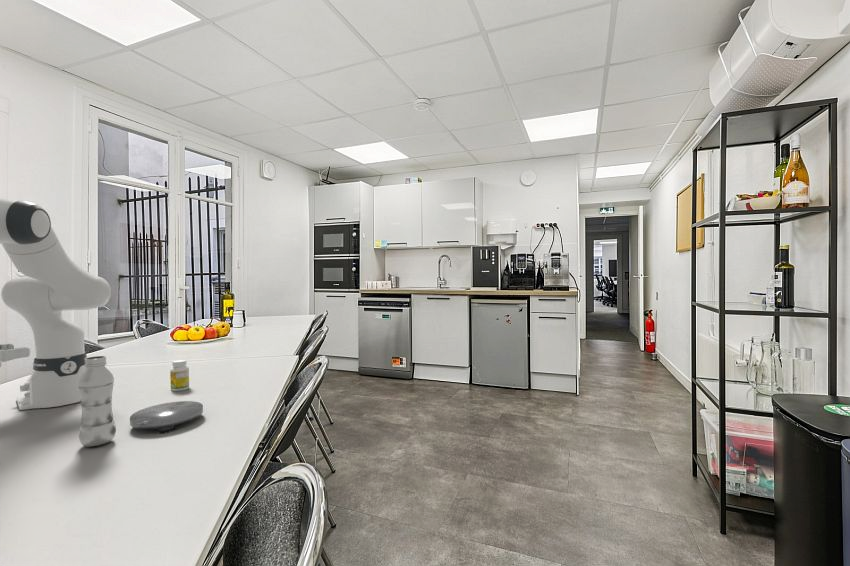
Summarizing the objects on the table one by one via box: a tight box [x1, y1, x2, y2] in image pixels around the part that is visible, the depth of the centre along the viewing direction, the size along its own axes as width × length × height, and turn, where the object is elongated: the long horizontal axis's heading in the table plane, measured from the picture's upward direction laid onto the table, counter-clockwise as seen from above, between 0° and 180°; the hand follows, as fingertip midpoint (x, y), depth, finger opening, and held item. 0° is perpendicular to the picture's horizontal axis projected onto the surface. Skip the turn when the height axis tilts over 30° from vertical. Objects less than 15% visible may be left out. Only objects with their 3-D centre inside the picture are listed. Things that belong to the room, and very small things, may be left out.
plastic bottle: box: [77, 355, 117, 448], centre depth 89 cm, size 6×7×20 cm
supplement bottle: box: [169, 359, 190, 392], centre depth 132 cm, size 5×5×10 cm
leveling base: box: [129, 400, 204, 434], centre depth 102 cm, size 16×16×3 cm
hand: (20, 349), depth 78 cm, fingers open, 8 cm apart
